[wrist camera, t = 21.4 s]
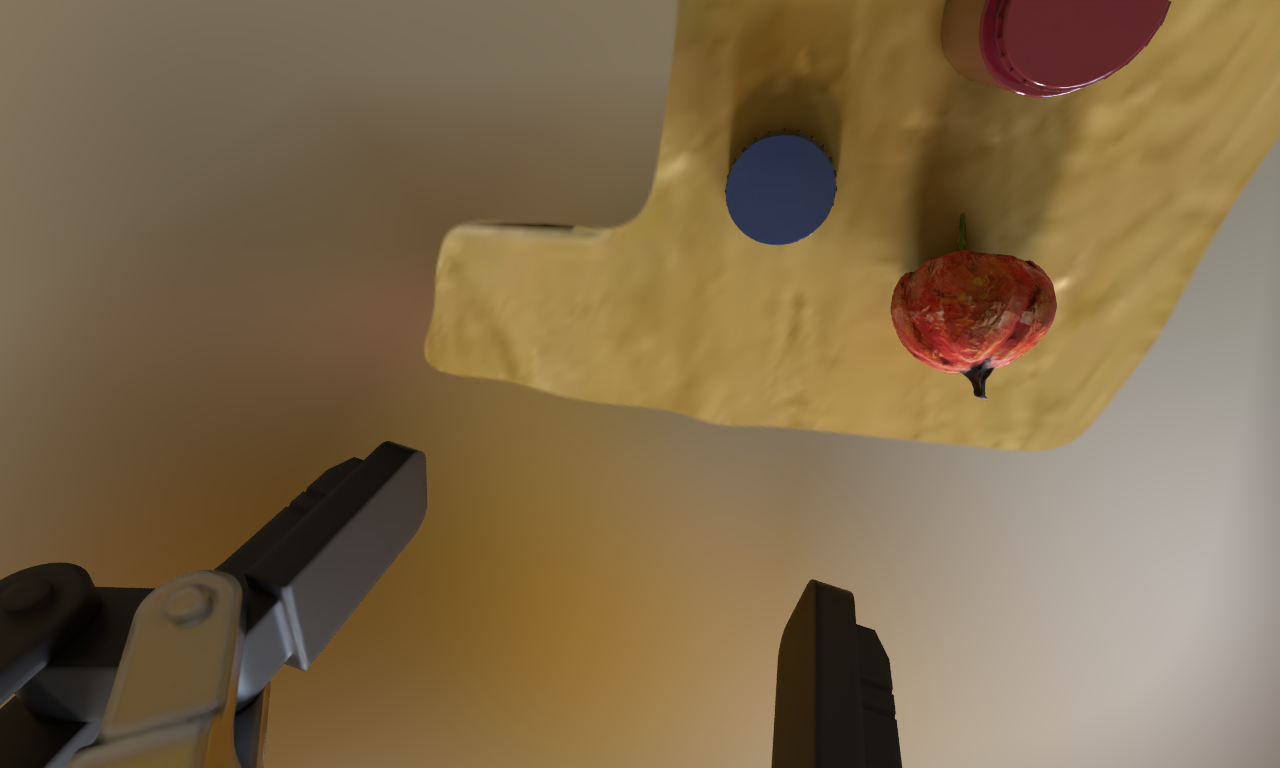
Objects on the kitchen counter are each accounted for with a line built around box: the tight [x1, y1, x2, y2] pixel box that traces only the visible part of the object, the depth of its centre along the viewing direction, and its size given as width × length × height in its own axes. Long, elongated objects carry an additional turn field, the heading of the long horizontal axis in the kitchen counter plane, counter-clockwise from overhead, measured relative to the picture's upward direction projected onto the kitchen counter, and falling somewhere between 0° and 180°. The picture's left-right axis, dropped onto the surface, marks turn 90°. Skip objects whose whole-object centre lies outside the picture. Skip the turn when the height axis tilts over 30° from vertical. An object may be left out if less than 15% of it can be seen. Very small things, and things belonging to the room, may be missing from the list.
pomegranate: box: [891, 213, 1057, 400], centre depth 31 cm, size 7×7×10 cm
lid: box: [725, 129, 837, 245], centre depth 32 cm, size 6×6×2 cm
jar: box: [941, 0, 1171, 97], centre depth 23 cm, size 5×5×10 cm
